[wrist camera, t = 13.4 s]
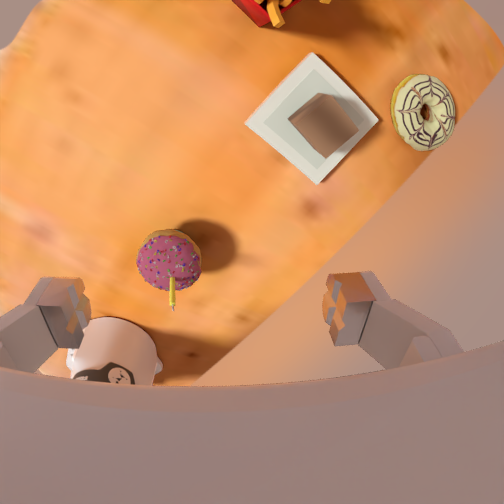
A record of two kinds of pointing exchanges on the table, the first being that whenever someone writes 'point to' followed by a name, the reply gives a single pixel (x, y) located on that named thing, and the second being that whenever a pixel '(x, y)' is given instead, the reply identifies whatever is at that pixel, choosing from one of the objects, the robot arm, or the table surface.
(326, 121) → the walnut cube
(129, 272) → the table surface
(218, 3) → the table surface
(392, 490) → the robot arm
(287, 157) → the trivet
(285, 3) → the french fries
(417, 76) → the decorated donut
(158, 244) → the cupcake
